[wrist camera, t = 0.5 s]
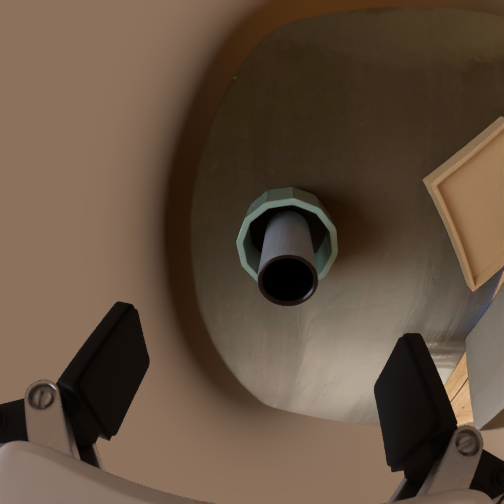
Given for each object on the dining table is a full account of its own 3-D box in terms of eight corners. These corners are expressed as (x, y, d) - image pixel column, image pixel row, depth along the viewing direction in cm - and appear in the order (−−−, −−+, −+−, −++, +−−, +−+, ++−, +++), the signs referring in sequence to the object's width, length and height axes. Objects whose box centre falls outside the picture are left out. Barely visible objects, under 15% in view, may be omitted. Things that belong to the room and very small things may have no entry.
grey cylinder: (317, 232, 30) (330, 285, 20) (285, 257, 31) (283, 316, 22) (289, 200, 28) (291, 242, 19) (257, 228, 30) (244, 279, 21)
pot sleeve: (226, 223, 30) (217, 240, 26) (294, 169, 27) (296, 178, 23) (280, 282, 33) (279, 305, 29) (346, 237, 29) (355, 255, 25)
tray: (422, 179, 25) (430, 183, 24) (500, 116, 20) (509, 117, 18) (466, 284, 30) (473, 292, 28) (531, 224, 24) (539, 230, 23)
